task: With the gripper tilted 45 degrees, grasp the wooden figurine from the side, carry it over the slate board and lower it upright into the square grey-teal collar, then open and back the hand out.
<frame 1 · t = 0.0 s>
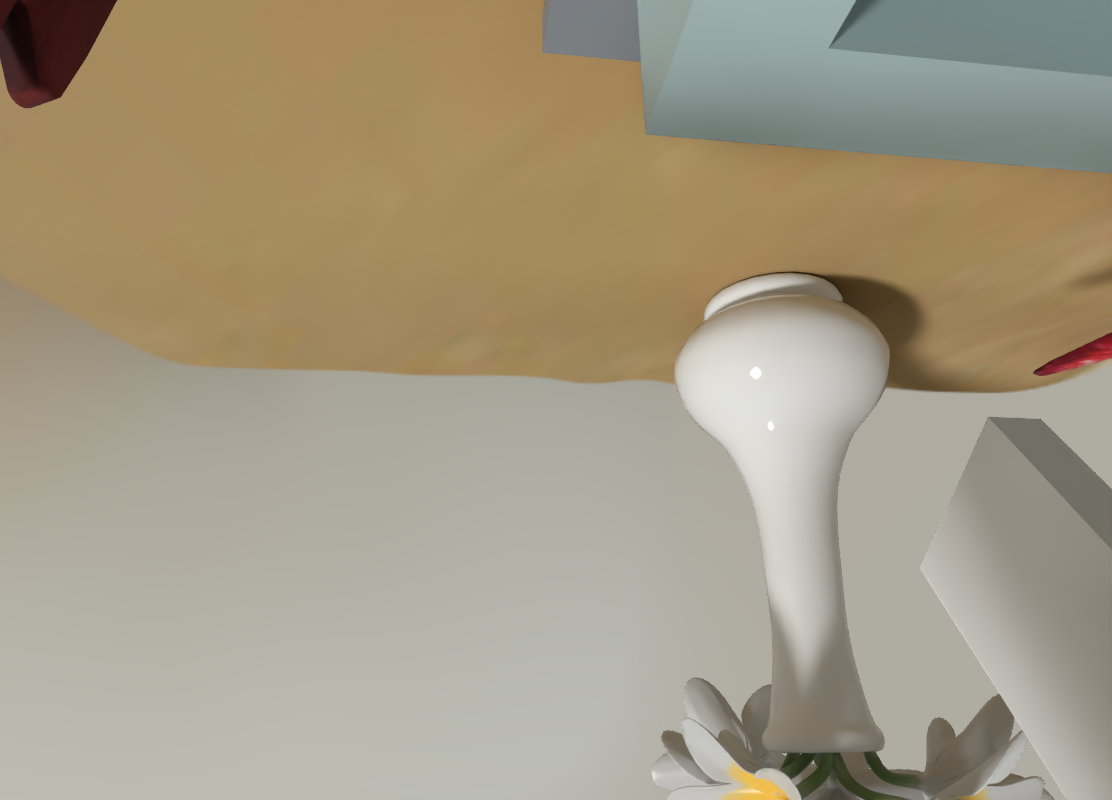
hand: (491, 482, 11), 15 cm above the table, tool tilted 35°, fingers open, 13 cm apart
flower vase: (774, 307, 40), on the table
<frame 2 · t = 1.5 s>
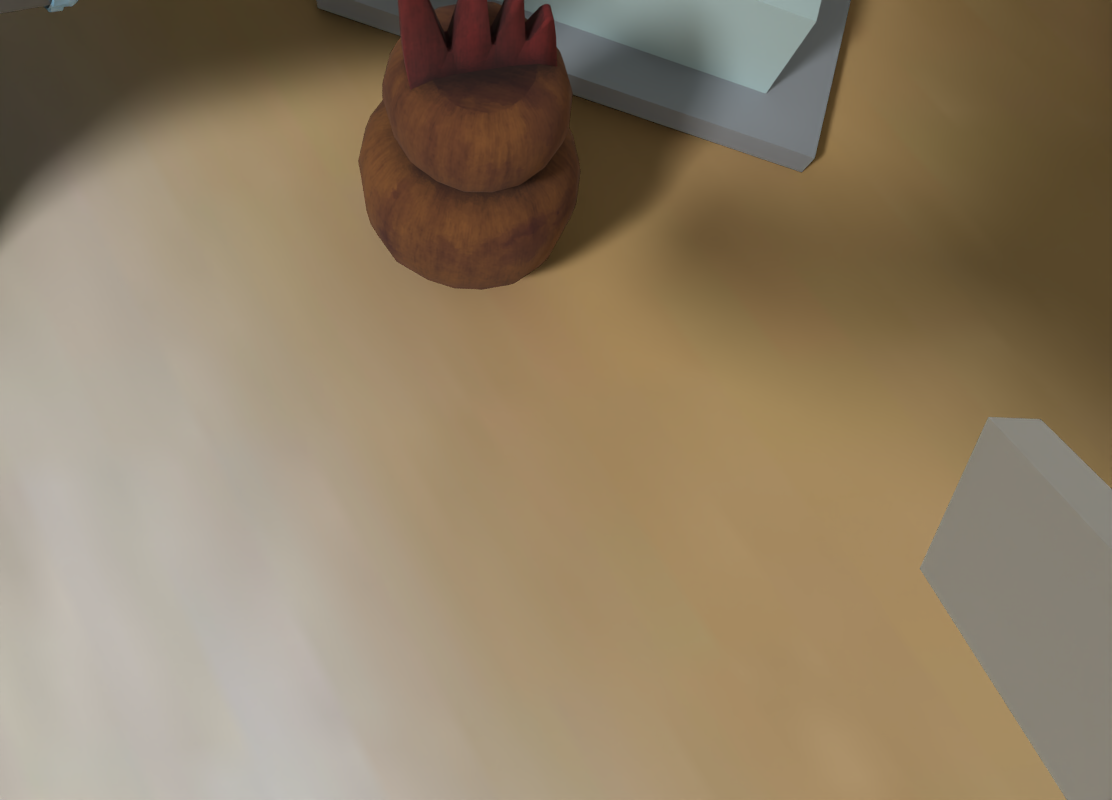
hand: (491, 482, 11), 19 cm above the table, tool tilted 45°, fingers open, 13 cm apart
wooden figurine: (464, 237, 32), on the table
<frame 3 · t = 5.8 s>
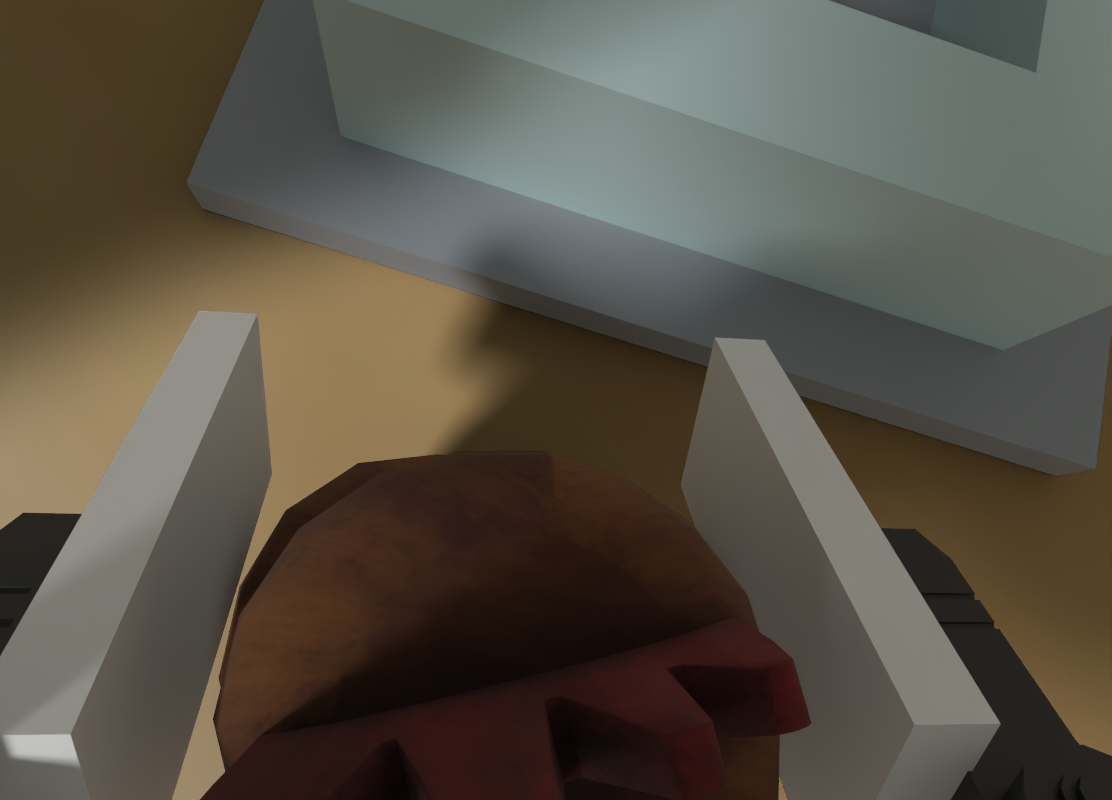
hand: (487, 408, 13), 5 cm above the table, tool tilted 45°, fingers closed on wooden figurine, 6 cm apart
wooden figurine: (466, 638, 17), on the table, touching gripper
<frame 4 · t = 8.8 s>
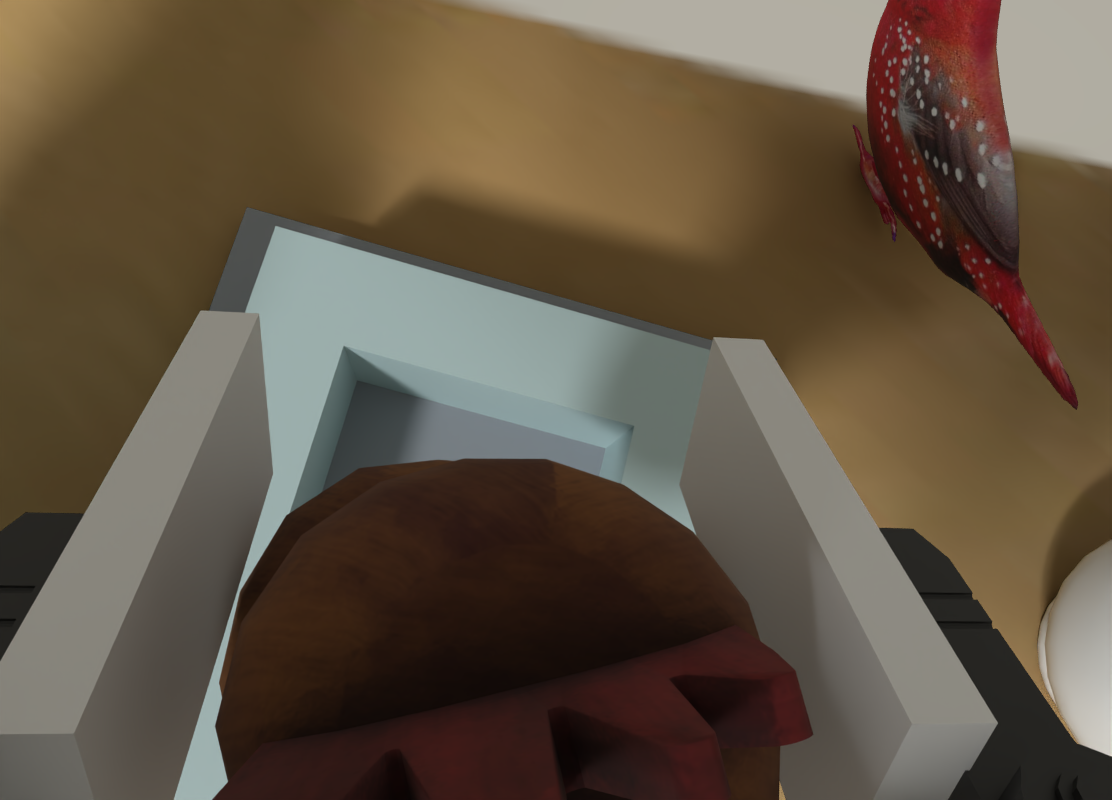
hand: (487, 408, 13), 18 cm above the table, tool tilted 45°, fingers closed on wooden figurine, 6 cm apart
wooden figurine: (465, 642, 17), point 13 cm above the table, touching gripper
collar stand: (443, 556, 30), on the table
decorative bird figurine: (884, 236, 35), on the table
when the fingers open (8 cm above the table, at t = 11.8 s): wooden figurine drops 1 cm, resting on collar stand.
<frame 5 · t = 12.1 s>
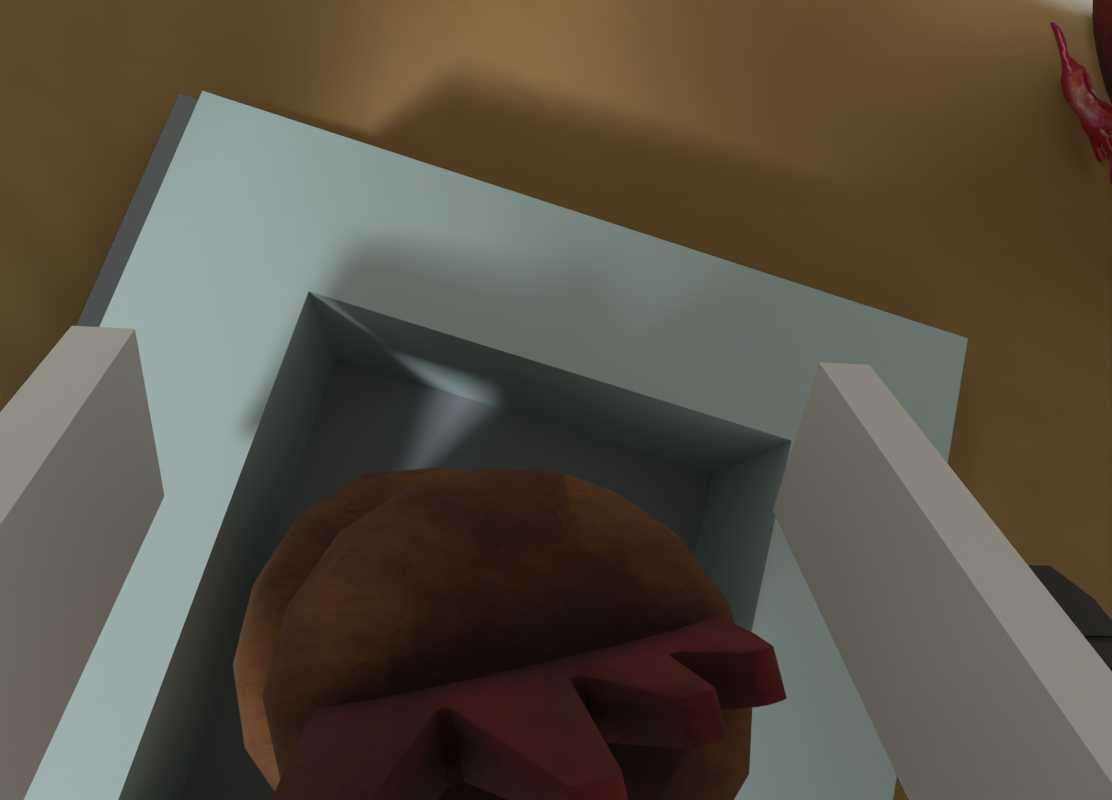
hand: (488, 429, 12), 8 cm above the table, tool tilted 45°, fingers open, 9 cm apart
wooden figurine: (446, 641, 18), point 1 cm above the table, touching collar stand
collar stand: (462, 632, 19), on the table
decorative bird figurine: (1095, 179, 25), on the table
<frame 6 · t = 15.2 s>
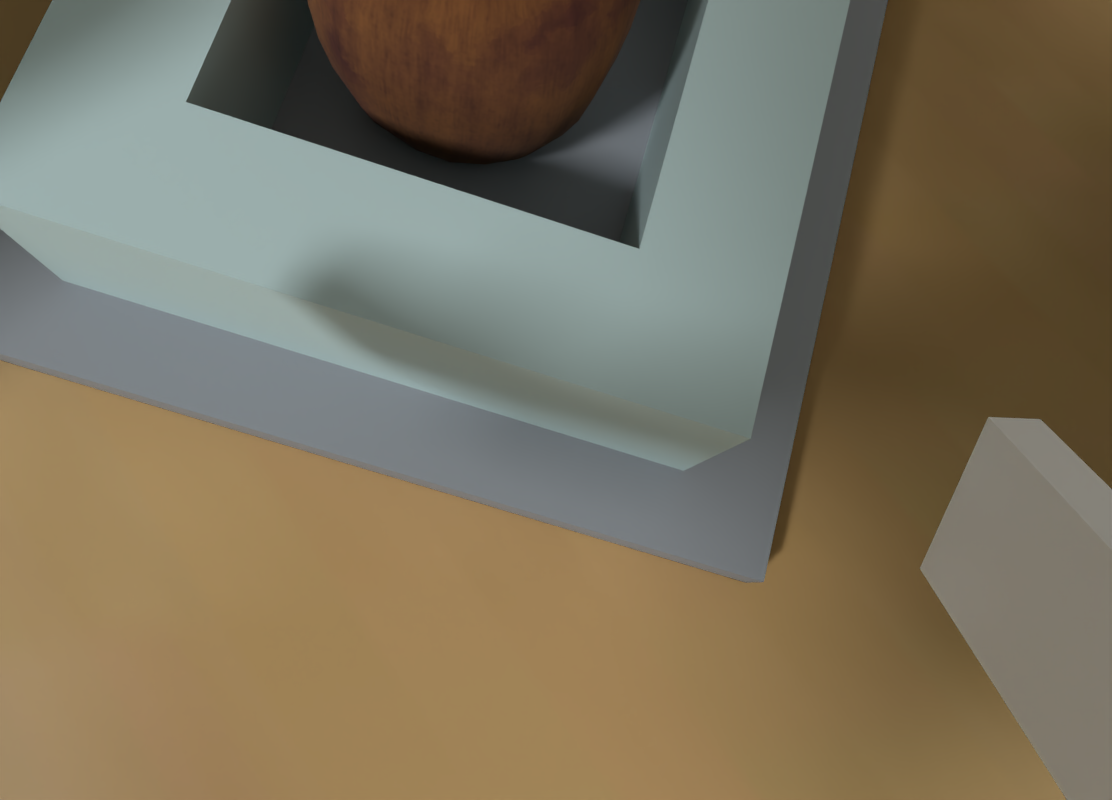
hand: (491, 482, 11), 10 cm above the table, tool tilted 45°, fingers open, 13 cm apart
wooden figurine: (465, 97, 22), point 1 cm above the table, touching collar stand
collar stand: (478, 115, 23), on the table
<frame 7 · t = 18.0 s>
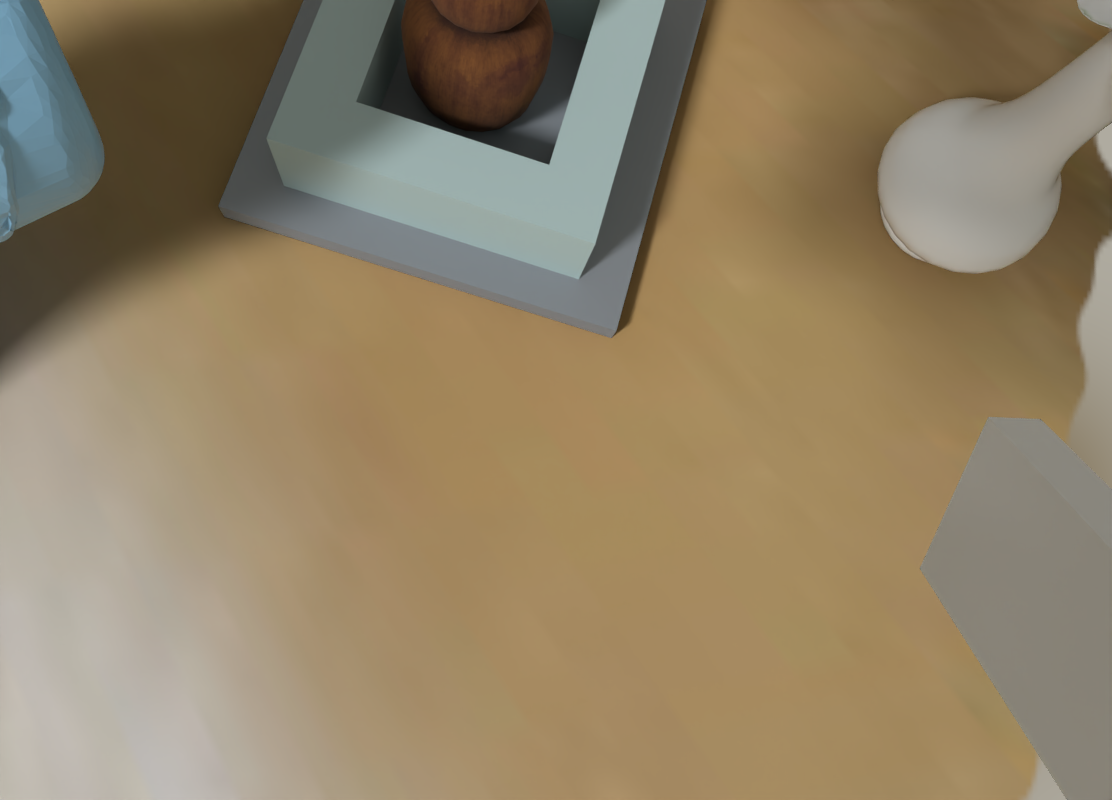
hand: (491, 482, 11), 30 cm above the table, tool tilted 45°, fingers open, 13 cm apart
flower vase: (939, 211, 48), on the table
wooden figurine: (472, 99, 44), point 1 cm above the table, touching collar stand
collar stand: (479, 108, 45), on the table
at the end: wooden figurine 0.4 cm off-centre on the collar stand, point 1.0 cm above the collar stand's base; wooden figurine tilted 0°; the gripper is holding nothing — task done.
